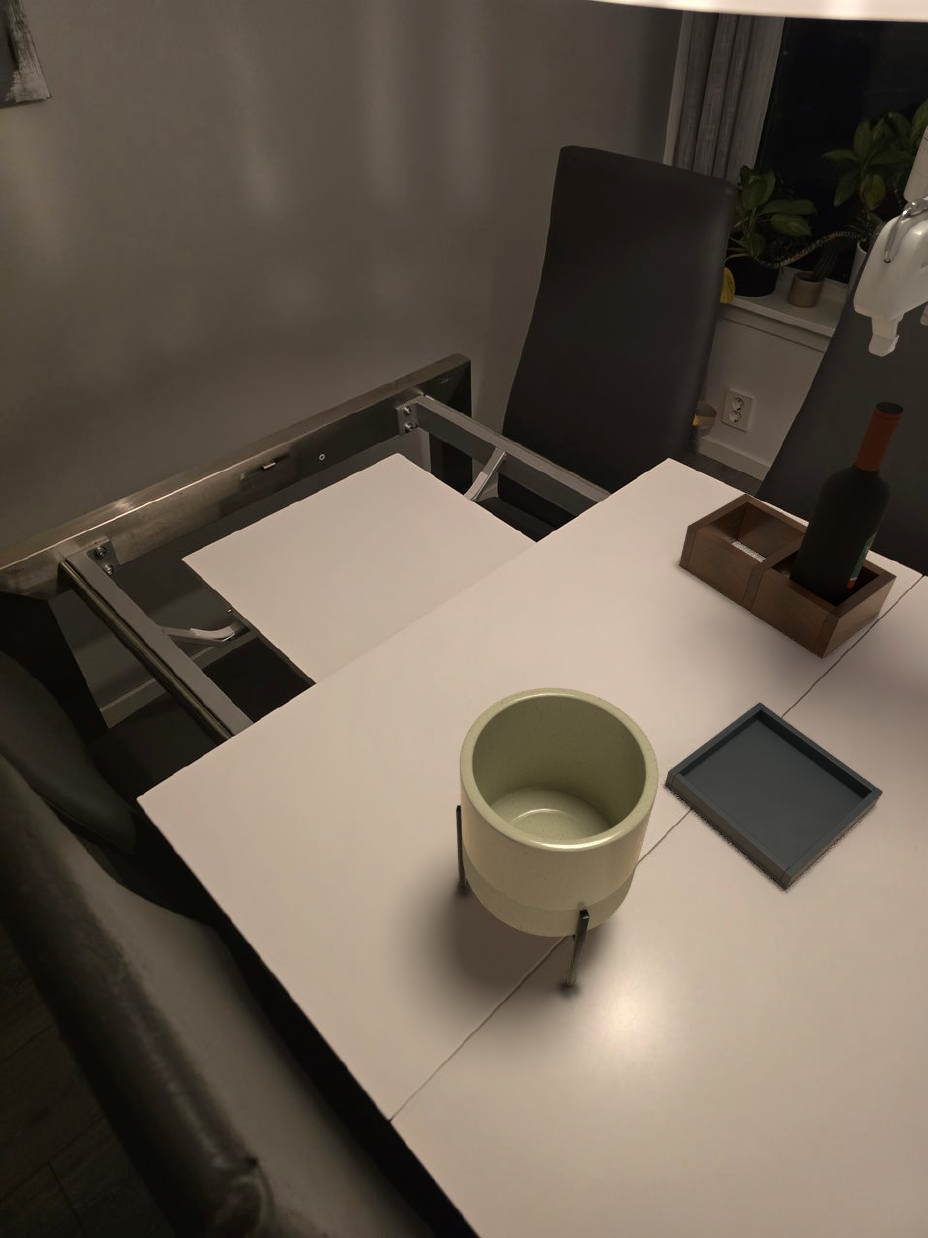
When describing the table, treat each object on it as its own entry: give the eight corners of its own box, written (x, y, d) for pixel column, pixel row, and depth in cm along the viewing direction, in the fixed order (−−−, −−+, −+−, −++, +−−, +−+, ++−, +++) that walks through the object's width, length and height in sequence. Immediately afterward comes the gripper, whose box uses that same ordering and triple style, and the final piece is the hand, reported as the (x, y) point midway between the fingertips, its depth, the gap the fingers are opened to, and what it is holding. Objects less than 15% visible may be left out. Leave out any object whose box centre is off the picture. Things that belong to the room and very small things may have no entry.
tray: (875, 804, 83) (883, 791, 82) (785, 889, 77) (792, 877, 75) (754, 714, 92) (759, 701, 91) (664, 784, 86) (668, 771, 84)
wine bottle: (775, 590, 108) (845, 389, 87) (832, 594, 107) (917, 392, 86) (784, 628, 103) (860, 423, 82) (844, 633, 102) (937, 428, 81)
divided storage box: (877, 616, 104) (897, 576, 99) (821, 658, 99) (839, 618, 94) (734, 531, 117) (745, 492, 113) (678, 565, 112) (687, 525, 107)
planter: (656, 895, 76) (703, 754, 60) (551, 1018, 68) (573, 893, 52) (538, 801, 84) (551, 654, 68) (431, 902, 76) (418, 763, 60)
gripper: (941, 214, 60) (878, 383, 69) (1058, 163, 69) (988, 319, 78) (864, 196, 63) (815, 359, 73) (986, 150, 72) (927, 300, 82)
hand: (906, 337), depth 76 cm, fingers open, 8 cm apart
